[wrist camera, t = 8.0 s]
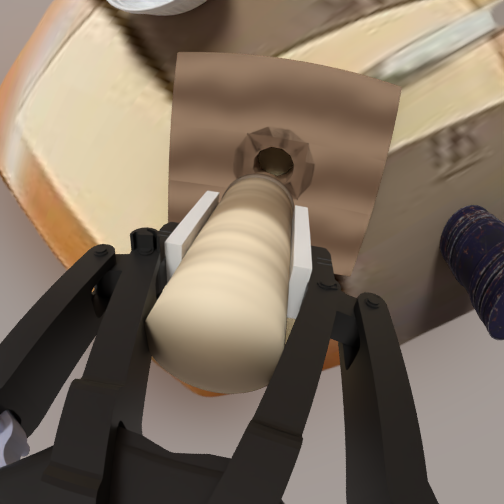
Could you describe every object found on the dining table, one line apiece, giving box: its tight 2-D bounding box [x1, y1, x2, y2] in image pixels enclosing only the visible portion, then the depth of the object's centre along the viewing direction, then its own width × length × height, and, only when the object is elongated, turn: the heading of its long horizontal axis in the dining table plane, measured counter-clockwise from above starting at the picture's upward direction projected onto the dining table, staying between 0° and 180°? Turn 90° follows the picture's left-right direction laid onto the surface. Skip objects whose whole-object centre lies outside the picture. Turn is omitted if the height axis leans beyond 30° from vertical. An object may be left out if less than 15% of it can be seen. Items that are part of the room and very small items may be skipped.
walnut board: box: [168, 52, 402, 276], centre depth 30 cm, size 22×22×4 cm
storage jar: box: [440, 205, 504, 340], centre depth 26 cm, size 10×10×15 cm
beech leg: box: [144, 172, 294, 394], centre depth 16 cm, size 5×5×16 cm
